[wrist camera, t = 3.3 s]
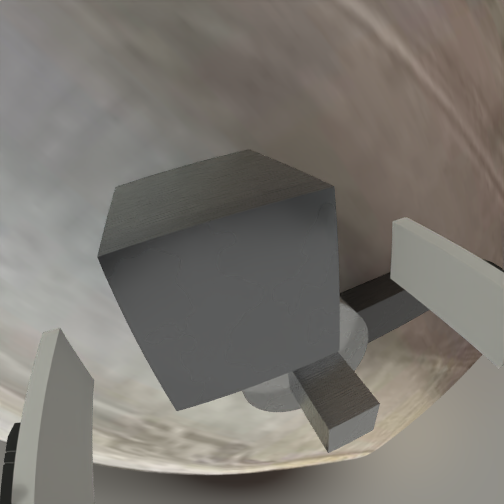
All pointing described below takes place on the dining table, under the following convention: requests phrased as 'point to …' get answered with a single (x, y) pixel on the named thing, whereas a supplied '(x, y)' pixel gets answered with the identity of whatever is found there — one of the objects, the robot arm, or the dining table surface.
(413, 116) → the dining table surface
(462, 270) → the robot arm
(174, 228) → the dark grey cube
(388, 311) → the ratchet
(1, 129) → the dining table surface
